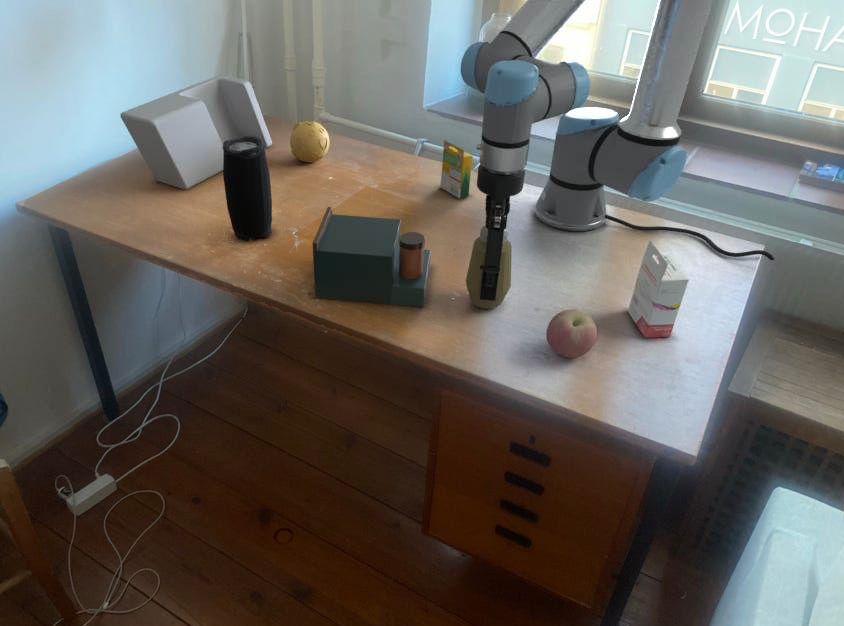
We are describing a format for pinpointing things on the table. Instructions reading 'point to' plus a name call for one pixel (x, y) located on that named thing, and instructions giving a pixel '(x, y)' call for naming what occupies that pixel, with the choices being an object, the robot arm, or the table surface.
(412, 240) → the spice jar
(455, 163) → the crayon box
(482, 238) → the squeeze bottle
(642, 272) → the ink cartridge box
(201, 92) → the bracket
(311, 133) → the stress ball
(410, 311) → the table surface
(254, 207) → the portable speaker
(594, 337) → the apple
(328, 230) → the dark green stepped block
